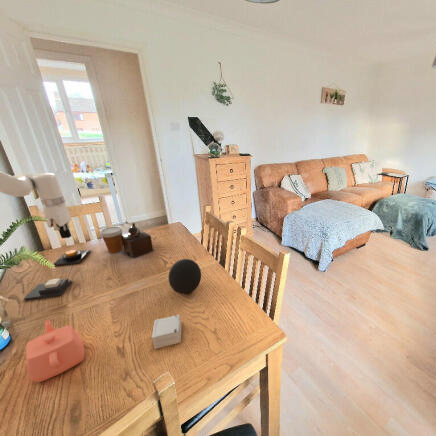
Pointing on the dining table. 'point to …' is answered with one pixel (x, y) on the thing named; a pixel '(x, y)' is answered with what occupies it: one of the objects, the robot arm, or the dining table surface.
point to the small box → (166, 331)
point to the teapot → (53, 352)
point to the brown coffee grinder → (136, 242)
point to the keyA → (52, 283)
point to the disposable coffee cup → (112, 239)
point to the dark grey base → (48, 291)
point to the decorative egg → (184, 276)
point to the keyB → (71, 253)
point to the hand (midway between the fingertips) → (66, 237)
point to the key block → (72, 258)
